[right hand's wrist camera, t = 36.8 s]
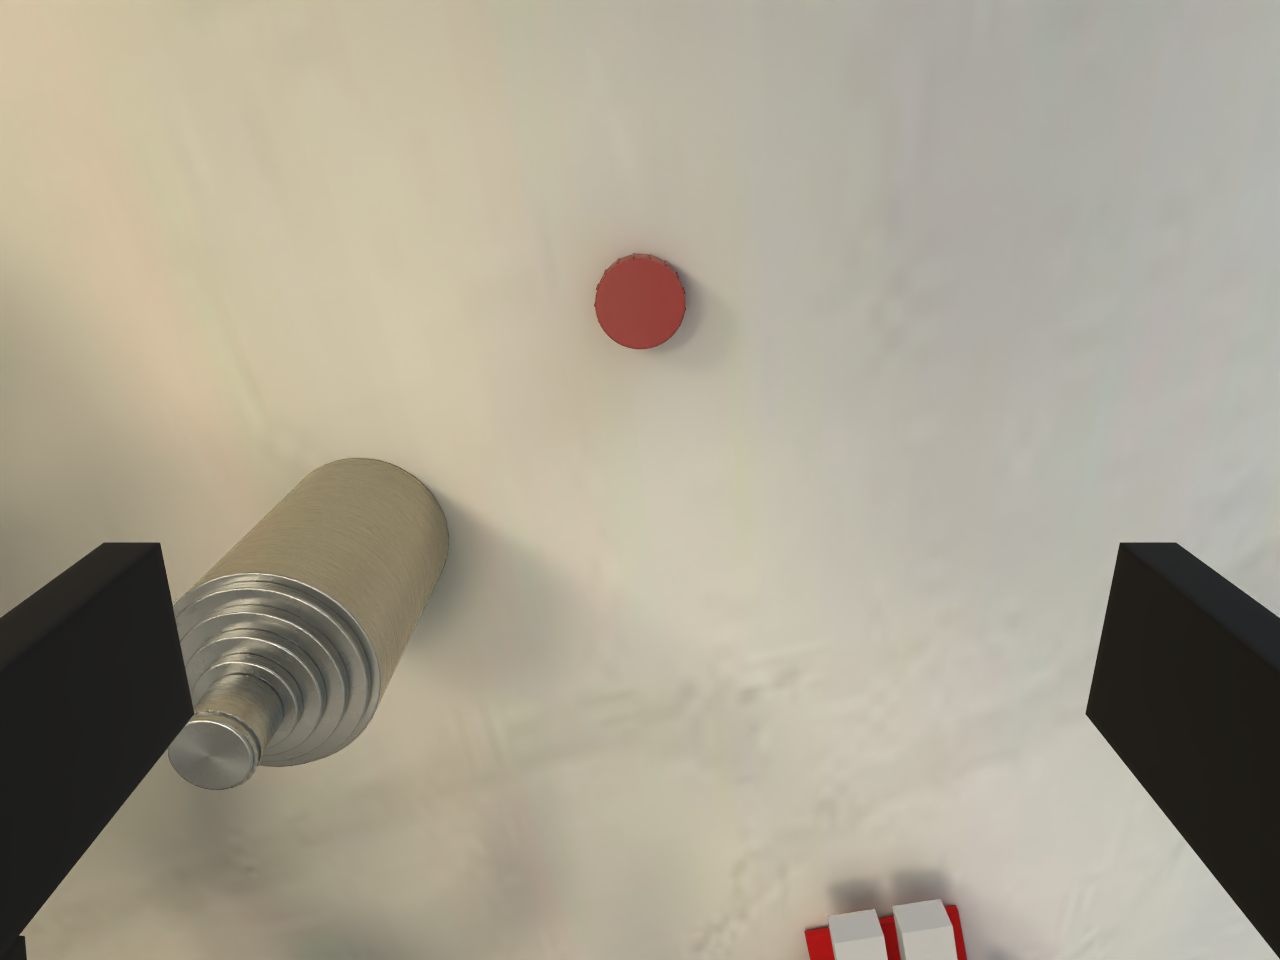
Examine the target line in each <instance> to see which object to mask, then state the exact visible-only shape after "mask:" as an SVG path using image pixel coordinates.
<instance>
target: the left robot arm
mask: <svg viewBox="0 0 1280 960" xmlns="http://www.w3.org/2000/svg"><path fill="white" fill-rule="evenodd" d="M0 960H27V957H26V946H25V936H18V937H17V938H16V940H15V941H14V942H13V943H12V945H11V946H10V947H9V948H8V950H7V951H6V952H5V953H4V955H3V956H2V957H1V958H0Z"/></svg>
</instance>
